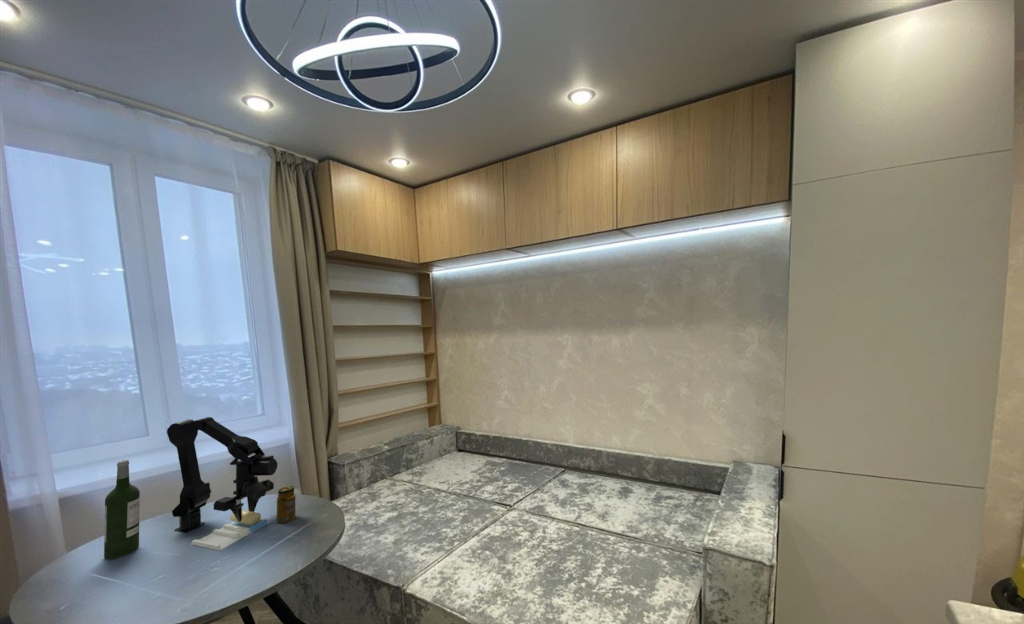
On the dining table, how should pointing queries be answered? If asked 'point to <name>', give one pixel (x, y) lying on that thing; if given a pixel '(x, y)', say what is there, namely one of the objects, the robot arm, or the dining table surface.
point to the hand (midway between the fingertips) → (245, 518)
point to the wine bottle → (121, 516)
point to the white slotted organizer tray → (228, 535)
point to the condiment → (286, 505)
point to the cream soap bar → (247, 518)
